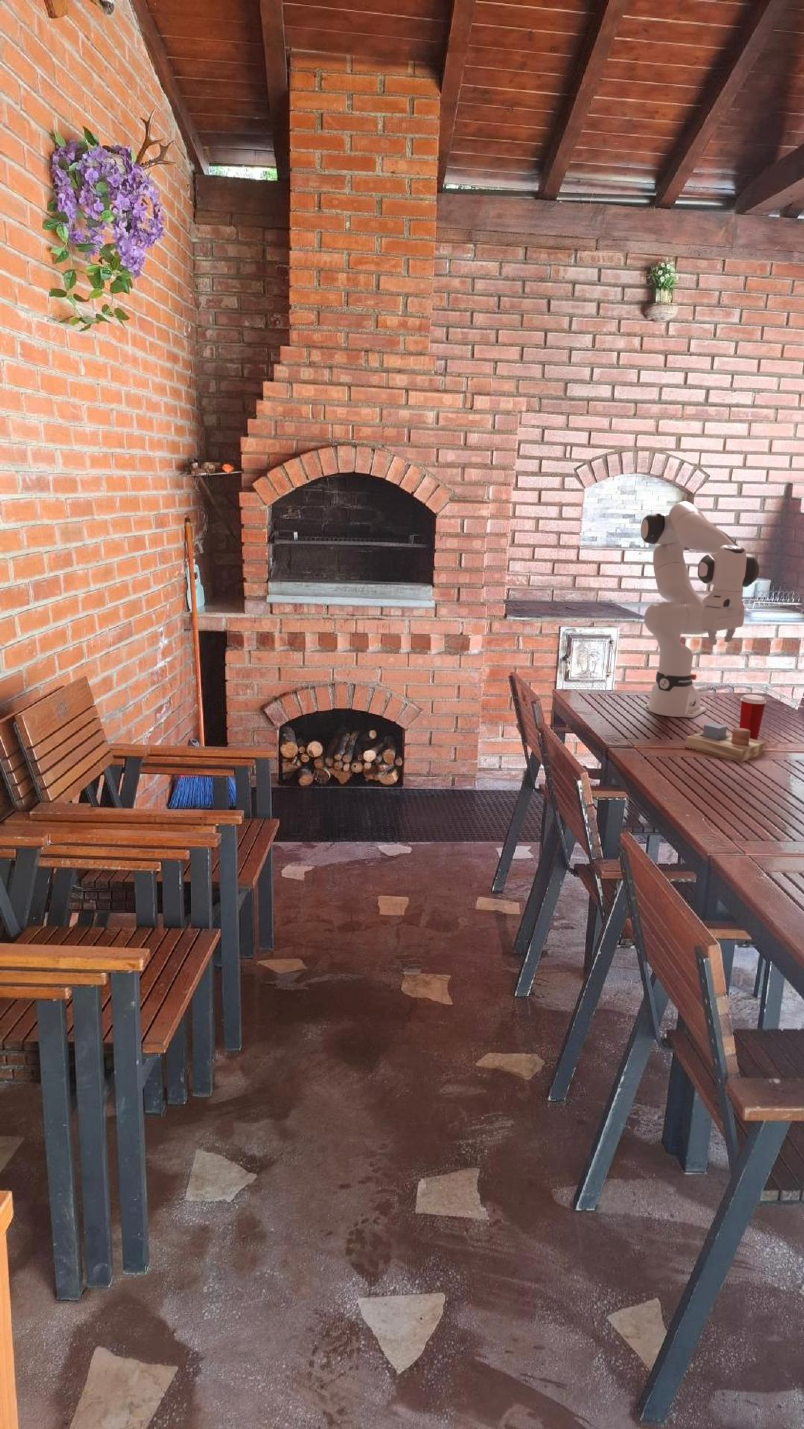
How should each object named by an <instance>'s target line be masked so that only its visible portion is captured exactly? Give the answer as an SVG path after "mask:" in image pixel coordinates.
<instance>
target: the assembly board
mask: <svg viewBox="0 0 804 1429" xmlns="http://www.w3.org/2000/svg"><path fill="white" fill-rule="evenodd" d="M750 732H751V731H750V730H747V729H743V728H739V727H735V728H733V729H732V733H729V732H726V738H725V739H724V740H720V741H717V740H713V739H709V738H705V737H703V731H701V732H697V733H694V734H691V735H688V736H686V741H685V747H686V746H688V747H690V748H694V749H696V750H695V751H697V752H701V753H705V754H708V755H711V756H712V755H713V756H714V757H715V756H716V757H719V758H723V759H728V760H731V761H734V762H738V763H742V762H745V761H747V760H751V759H753V758H755V757H758V756H760V755H764V754H765V750H766V742H764V741H761V740H758V739H757V740H754V739H750ZM690 748H689V749H690Z"/></svg>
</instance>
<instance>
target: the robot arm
mask: <svg viewBox="0 0 804 1429" xmlns="http://www.w3.org/2000/svg"><path fill="white" fill-rule="evenodd" d="M640 536H641V539H642V540H643V542H644V543H646V544H651V545H656V544H657V546H656V547H655V548H654V550H653V553H652V555H653V556H652V564H653V572H654V573H653V574H654V578H655V583H656V587H657V591H658V594H659V596H661V597H662V598H663V599H665V600H666V601H663V602H657V603H653V604H650V605H649V606H648V607H647V608H646V610H645V613H644V616H643V621H644V626H645V628H646V629H647V630H648V631H649V632H650V633H651V634H652V635H653V637H654V638H655V640H656V642H657V644H658V649H659V656H658V657H659V659H658V670H657V672H656V675H655V682H656V683H654V684H653V685H652V688H651V692H650V697H649V702H648V703H646V706H645V707H646V708H647V709H648V711H649V712H651V713H652V714H657V715H660V716H665V717H674V718H690V719H692V718H693V719H694V718H696V717H697V716H699V715H701V714H703V713H704V712H707V707H705V706H703V705H701V700H702V699H701V698H702V697H701V693H700V692H699V691H698V690H697V689H696V688H695V686H694V685H693V684H694V683H693V681H696V680H697V674H696V673H695V674H694V673H692V667H693V658H694V654H693V651H692V649H691V648H689V647H688V646H687V645H685V644H683V643H682V642H681V635H693V636H694V635H695V636H696V635H705V634H707V636H708V639H709V642H708V644H709V645H710V646H716V645H717V642H718V638H716V636H717V634H718V633H717V632H718V631H725V630H726V631H727V632H726V635H725V636H724V643H731V642H732V641H733V636H734V634H735V632H736V629H737V628H741V627H743V625H744V622H745V605H744V601H743V600H742V599H743V591H744V588H748V587H749V586H751V585H752V584H753V583H754V582H755V581H756V580H757V578H759V574H760V565H759V563H758V562H759V561H757V559H756V558H755V557H754V556H753V555H752V554H750V553H747V551H746V549H745V548H743V547H741V546H740V545H739V544H738V543H736V541H734V539H733V538H732V537H731V536H729V535H728V534H727V533H726V532H725V531H723V530H721V529H720V528H718V527H716V526H715V524H713V523H711V522H710V521H709V520H708V519H707V518H706V516H705V515H704V514H703V512H702V511H701V510H700V509H699V508H698V507H697V506H696V505H694V504H693V503H691V502H689V501H680V502H678V503H676V504H674V505H673V506H672V507H671V509H670V510H669V512H663V513H659V512H658V513H657V512H654V513H651V514H648V515H646V516H645V517H644V518H643V519H642V521H641V525H640ZM685 548H686V550H693V551H701V552H706V553H707V552H708V553H710V554H705V555H704V556H703V557H702V558H701V559H700V560H699V562H698V564H697V577H698V578H699V580H700V581H701V582H702V583H703V584H706V585H711V586H712V585H713V586H712V591H711V592H710V593H709V595H707V596H705V597H704V598H702V597H701V596H700V595H699V594H698V592H697V591H696V590H695V588H694V587H693V585H692V582H691V580H690V576H689V573H688V569H687V564H686V560H685V556H684V551H685Z"/></svg>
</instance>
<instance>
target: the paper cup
mask: <svg viewBox="0 0 804 1429" xmlns="http://www.w3.org/2000/svg"><path fill="white" fill-rule="evenodd" d="M739 700H740V701H741V703H740V704H741V705H740V715H739V716H740V717H739V727H738V728H743V729H747V730H750V731H751V732H750V739H754V740H758V739H759V738H758V737H759V733H760V729H761V723H762V720H763V715H764V710H765V707H766V706H765V705H766V704H767V701H766V698H765V697H764V696H762V695H757V694H744V695H742V696H741V698H740V699H739Z"/></svg>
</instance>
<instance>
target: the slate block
mask: <svg viewBox="0 0 804 1429" xmlns="http://www.w3.org/2000/svg"><path fill="white" fill-rule="evenodd" d="M727 730H728V726H727V725H725V724H720V723H715V722H709V723H705V724H704V725H703V730H702V732H703V737H705V738H709V739H713V740H717V741H720V740H724V739H725V738H726V733H727Z"/></svg>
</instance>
